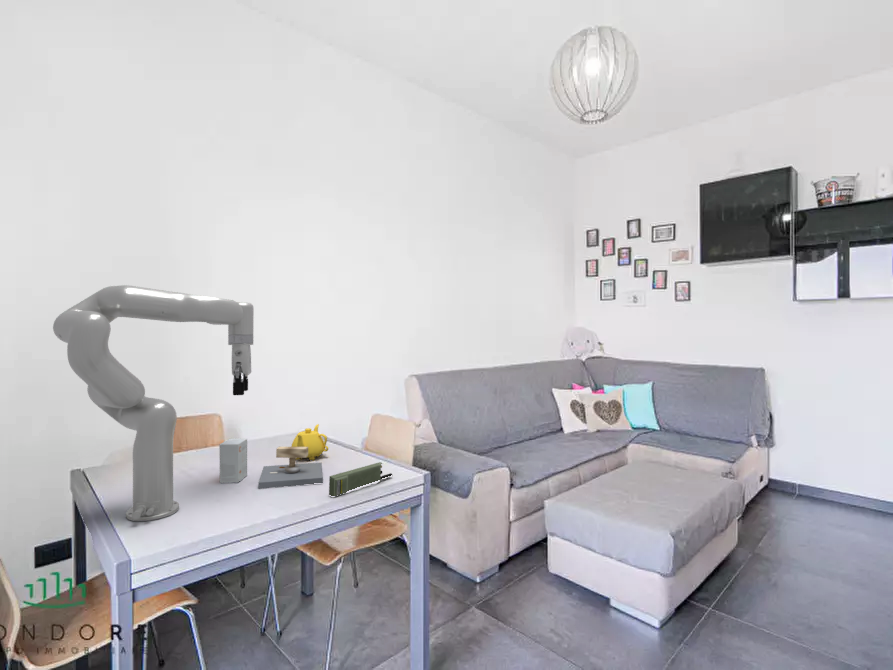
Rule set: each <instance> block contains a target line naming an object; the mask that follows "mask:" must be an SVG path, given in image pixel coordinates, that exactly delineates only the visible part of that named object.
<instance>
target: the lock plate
mask: <svg viewBox="0 0 893 670" xmlns="http://www.w3.org/2000/svg"><path fill="white" fill-rule="evenodd" d="M295 464H296V465H300V471H299V472H296V473H285V468H279V467H285V466H287V465H288V464H279V465H277V464H276V465H264V466H263V467H262V470H261V474H260V477H259V480H258V482H257V483H258V487H257V489H258V488H263V489H270V488H269V487H275V488H284V486H288V487H297V486H296V485H300V486H305V485H304V484H313V485H315V484H314V483H323V484H324V474H323V465H322V464H323V463H322V462H309V463H306V462H305V463H295Z"/></svg>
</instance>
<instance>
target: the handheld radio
mask: <svg viewBox="0 0 893 670" xmlns="http://www.w3.org/2000/svg"><path fill="white" fill-rule="evenodd" d="M382 464H383V463H382V462H380V461H379V462H374V463H372V464H369V465H365V466H361V467H358V468H354V469H350V470H346V471H343V472H339V473H337V474H332V475H329V480H328V481H329V483H328V485H329V486H328V496H329V495H331V496H337V495H340V494H343V493H346V492H347V491H349V490H352V489H355V488H357V487H360V486H363V485H366V484H369V483H372V482H375V481H378V480H380V479H382V478H385V477H388V476H391V475H392V476H393V473H392V472H389V473H387V474H384V475H383V471H382V468H383V465H382ZM382 480H383V479H382ZM380 481H381V480H380ZM337 497H338V496H337Z"/></svg>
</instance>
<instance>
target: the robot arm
mask: <svg viewBox="0 0 893 670" xmlns="http://www.w3.org/2000/svg"><path fill="white" fill-rule="evenodd" d="M117 318H129V319H140V320H151V321H152V320H153V321H160V322H161V321H162V322H174V323H191V322H192V323H193V322H194V323H195V322H197V323H206V324H209V325H213V326H217V325H219V326H221V325H222V326H223V325H224V326H225V325H227V328H228V329H227V330H228V332H227V333H228V334H227V335H228V336H227V340H228V341H227V342H228V343H227V345H228V346H231V375H232V376H233V380H232V381H233V382H232V395H233V396H244V395H245V392H247V391H249V378H248V376H249V375H250V374H251V373H252V349H251V346H252V345H253V346H254V305H253V304H252V303H251V302H243V301H241V302H238V301H235V300H233V299H232V300H231V299H227V298H220V297H213V296H206V295H205V296H204V295H197V294H191V293H184V292H178V291H177V292H175V291H169V290H168V291H167V290H161V289H155V288H148V287H142V286H136V285H129V284H128V285H127V284H126V285H125V284H124V285H123V284H122V285H112V286H111V285H110V286H107V287H103V288H102V289H100V290H98V291H96V292H95V293H92V294H91V295H89V296H88V297H87V298H84V299H82V300H81V301H80V302H77V303H76V304H75V305H73V306H71V307H69V308H67V309H66V310H65V311H64V310H63V312H62V313H60V314H59V315H58V316H57V317H56V318H55V319H54V321H53V326H52V329H53V332H54V333H53V334H54V335H55V336H56V337H57V339H59V340H60V341H62V342H64V343H66V344H67V350H66V351H67V352H66V354H67V356H66V357H67V360H68V361H67V362H68V364H69V366H70V368H71V369H72V371H73V372H74V374H76V375H77V377H79V379H81V380H82V381H83V382H84V383H85V384H86V385H87V395H88V397H89V399H90V400H91V402H92V403H93V404H94V405H96V406H97V407H98V408H100V410H102V411H103V412H104V413H105V414H107V415H108V416H109V417H111V418H112V419H113V420H114V421H116V422H117V423H118V424H119V425H121V426H123V427H124V428H126V429H129V430H132V431H135V432H136V434H135V438H134V441H133V445H132V507H130V508H129V509H128V510H126V512H125V518H126V519H128V520H129V521H132V522H133V521H134V522H147V521H148V522H149V521H155V520H159V519H160V520H161V519H163V518H166V517H169V516H171V515H173V514H175V513H176V512H178V511H179V509H180V503H179V502H178V501H175V500H174V439H175V437H174V436H175V430H176V427H177V426H176V424H177V417H178V416H177V412H176V409H175V407H174V406H173V404H171V403H170V402H168V401H166V400H164V399H160V398H154V397H147V396H146V389H145V385H144V384H143V382H142V381H141V380H140V379H139V378H138V377H137V376H136V375H134V374H133V373H132V372H130V370H129V369H127V368H126V367H125V366H124V365H123V364H122V363H120V362H119V361H118V360H117V358H116V357H115V356H114V355H113V354H112V353H111V351H110V349H109V339H110V334H111V323H112V322H113V321H114V320H116V319H117Z"/></svg>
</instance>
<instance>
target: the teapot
mask: <svg viewBox="0 0 893 670" xmlns="http://www.w3.org/2000/svg"><path fill="white" fill-rule="evenodd" d="M319 426H320V424H319V423H317V424H316V425H315V426H314V427H313V428H314V429H313V430H312V428H311V427H310V428H309V427H308V428H304V430H303V431H300V432H298V433H297V434H296V436H295V437H294V439H293V441H292V444H291V446H290V447H308V456H307V457H306V458H305V459H307V458H308V460H309V461H310V460H312V461H315V460H316V458H315V457H316V456H318V457H321V455H322V454H323V453H324V452H328V451H329V447H328V445H327V443H328V436H327V435H326V434H324V433H319ZM323 438H324V439H323ZM300 460H302V458H295V461H300Z"/></svg>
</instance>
